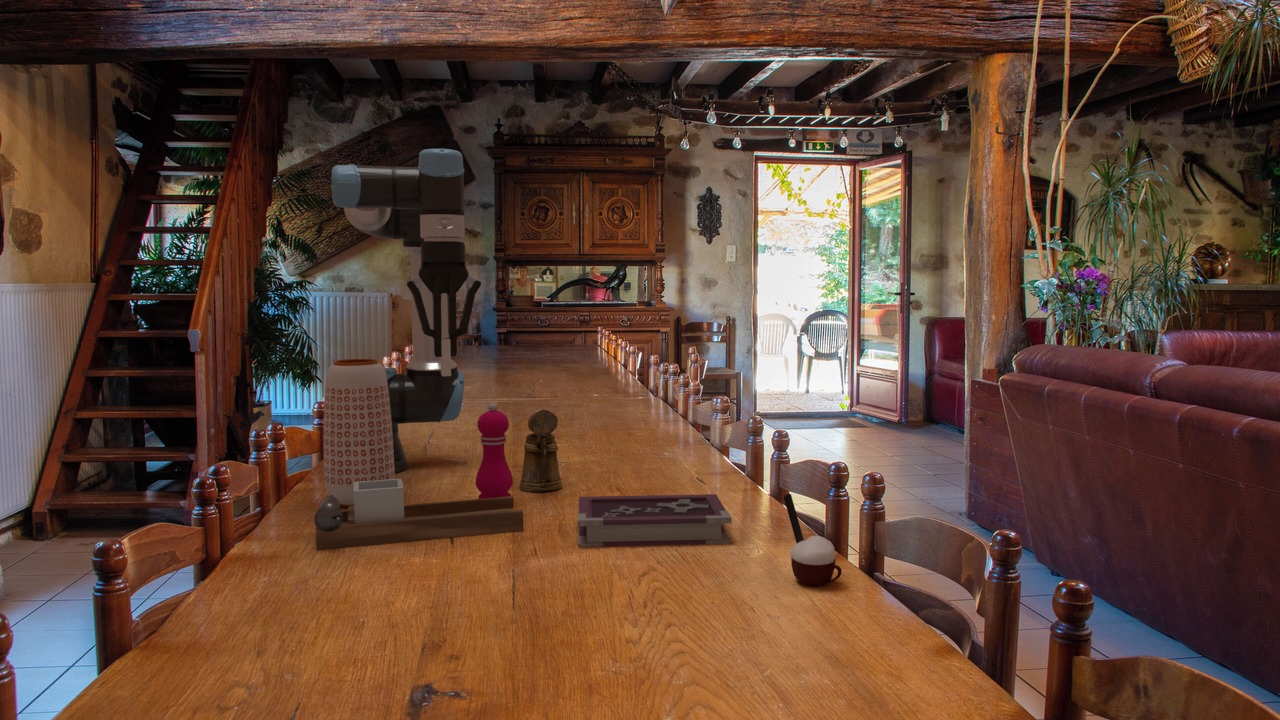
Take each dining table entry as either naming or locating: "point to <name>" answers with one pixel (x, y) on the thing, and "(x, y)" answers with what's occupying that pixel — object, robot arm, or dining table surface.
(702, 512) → the book
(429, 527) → the bay
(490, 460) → the pepper mill
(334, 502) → the dark grey rounded lump
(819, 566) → the cocoa
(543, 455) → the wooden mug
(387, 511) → the box
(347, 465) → the planter
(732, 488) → the dining table surface
